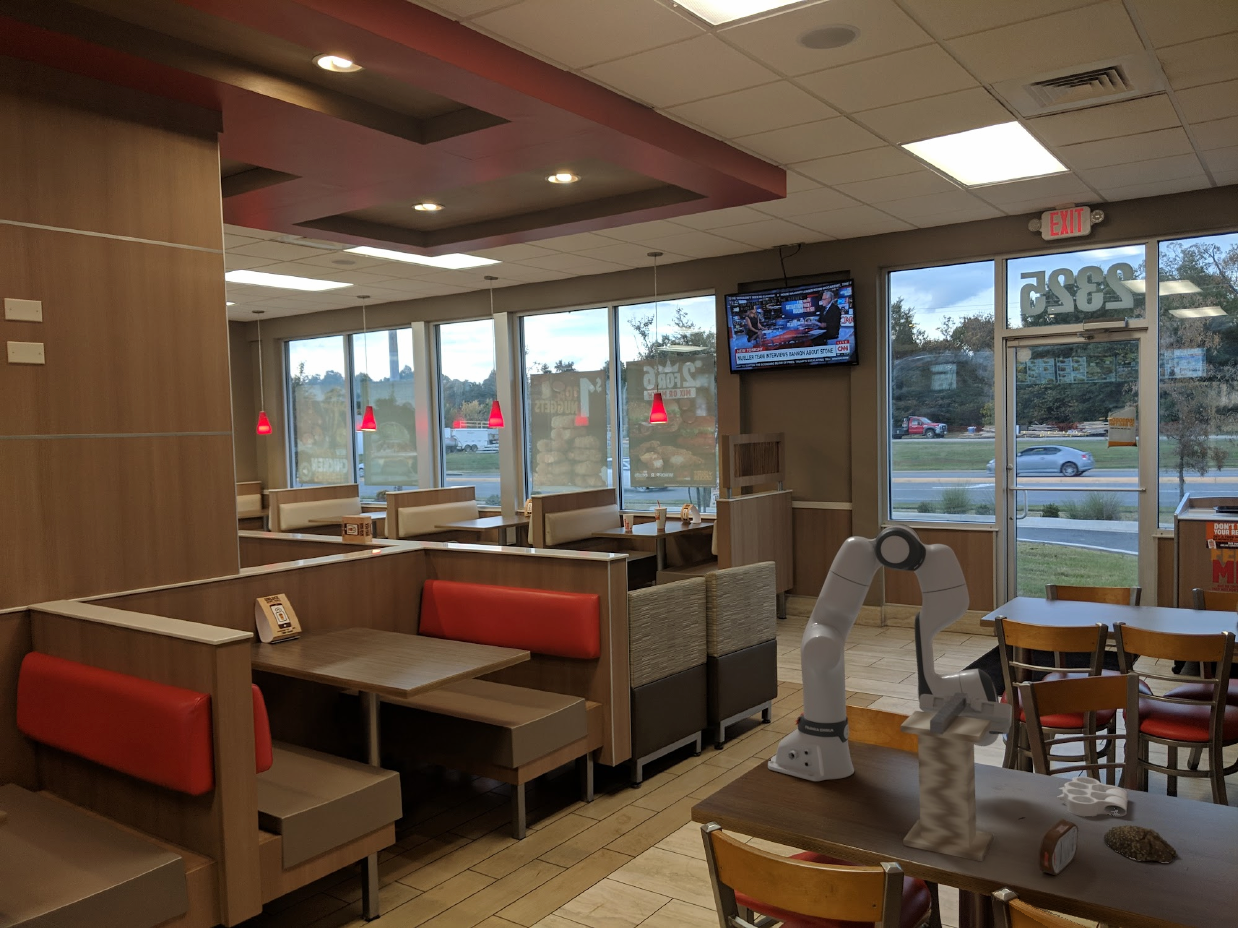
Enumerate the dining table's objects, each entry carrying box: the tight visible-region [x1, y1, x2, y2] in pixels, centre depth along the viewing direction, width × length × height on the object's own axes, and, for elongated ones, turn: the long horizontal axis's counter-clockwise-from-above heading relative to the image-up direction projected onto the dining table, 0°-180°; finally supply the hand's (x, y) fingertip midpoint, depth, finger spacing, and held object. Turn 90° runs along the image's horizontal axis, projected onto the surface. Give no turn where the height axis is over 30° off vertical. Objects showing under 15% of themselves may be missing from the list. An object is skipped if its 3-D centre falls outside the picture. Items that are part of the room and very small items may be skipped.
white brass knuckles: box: [1056, 776, 1129, 817], centre depth 216 cm, size 3×18×15 cm
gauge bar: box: [930, 692, 968, 734], centre depth 200 cm, size 24×2×2 cm, turn 147°
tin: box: [1038, 818, 1079, 876], centre depth 185 cm, size 15×3×8 cm, turn 134°
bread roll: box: [1103, 824, 1177, 863], centre depth 191 cm, size 13×12×5 cm
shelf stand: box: [899, 710, 994, 862], centre depth 197 cm, size 16×12×26 cm
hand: (958, 699), depth 208 cm, fingers open, 3 cm apart
